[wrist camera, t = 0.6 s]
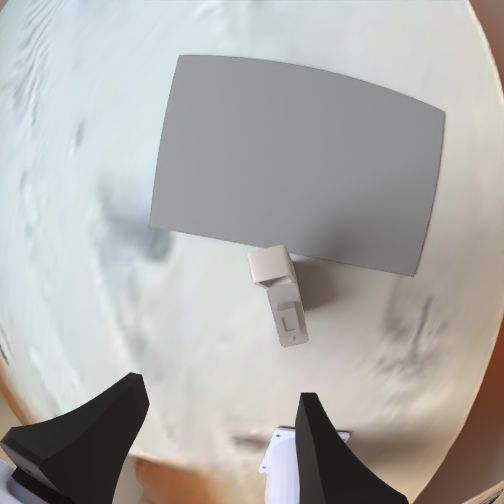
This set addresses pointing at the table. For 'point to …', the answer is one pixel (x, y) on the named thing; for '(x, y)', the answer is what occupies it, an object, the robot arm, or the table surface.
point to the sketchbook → (492, 498)
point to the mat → (297, 162)
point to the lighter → (280, 292)
